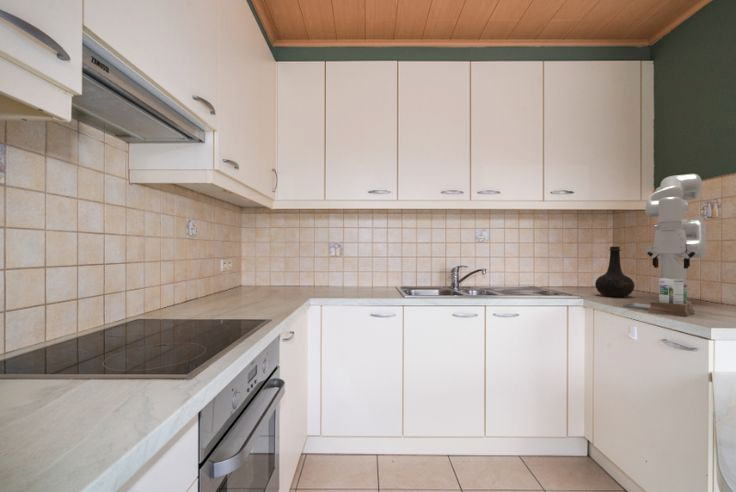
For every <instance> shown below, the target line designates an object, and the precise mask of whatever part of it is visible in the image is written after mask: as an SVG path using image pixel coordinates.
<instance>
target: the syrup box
mask: <svg viewBox="0 0 736 492" xmlns="http://www.w3.org/2000/svg"><path fill="white" fill-rule="evenodd" d="M658 281H659V282H658V286H659V288H658V295H659V297H658V299H659V302H662V303H673V304H683V279H675V278H661V277H660V278H659V279H658Z"/></svg>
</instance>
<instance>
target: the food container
mask: <svg viewBox="0 0 736 492" xmlns="http://www.w3.org/2000/svg"><path fill="white" fill-rule="evenodd" d="M689 291H690V288H689V285H687V283H686V284H683V302H686V297H688V295H687V294H688V292H689Z"/></svg>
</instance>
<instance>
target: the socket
mask: <svg viewBox="0 0 736 492" xmlns="http://www.w3.org/2000/svg"><path fill="white" fill-rule="evenodd" d="M649 305H650V309H649V310H648V313H651V314H657V315H665V316H667V315H668V316H675V317H685V318H686V317H689V316H692V315H694V314H695V309H693V302H692V301H689V302H683V304H673V303H662V302H659V300H657V299H655V300H652V301H650V304H649Z"/></svg>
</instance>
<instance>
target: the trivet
mask: <svg viewBox="0 0 736 492" xmlns="http://www.w3.org/2000/svg"><path fill="white" fill-rule="evenodd" d="M622 307H623V308H632V309H641V310H647V311H649V309H650V304H647V303H638V302H630V303H625V304H623V305H622Z"/></svg>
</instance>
